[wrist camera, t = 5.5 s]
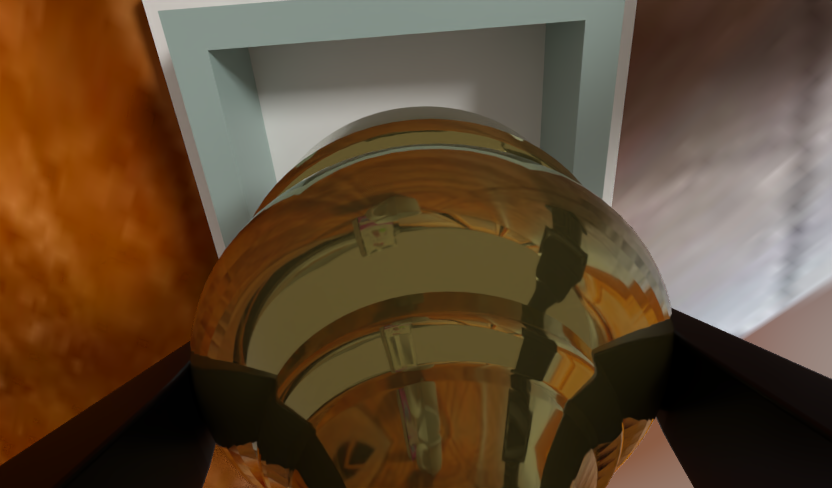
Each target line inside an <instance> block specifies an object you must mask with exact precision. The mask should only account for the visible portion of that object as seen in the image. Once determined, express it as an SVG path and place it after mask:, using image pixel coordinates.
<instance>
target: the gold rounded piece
mask: <svg viewBox="0 0 832 488" xmlns="http://www.w3.org/2000/svg"><path fill="white" fill-rule="evenodd" d="M674 345H675V343H674V323H673V316H672V309H671V303H670V300H669V296H668V293H667V289H666V286H665V284H664V281H663V279H662V276H661V274H660V272H659V269H658V267H657V265H656V263H655V261H654V260H653V258H652V256H651V254H650V252H649V251H648V249H647V247H646V246H645V244H644V243H643V242H642V240H641V239H640V238H639V236H638V235H637V233H636V232H635V231H634V230H633V229H632V228H631V226H630V225H629V224H628V223H627V222H626V221H625V220H624V219H623V218H622V217H621V216H620V215H619V214H618V213H617V212H616V211H615V210H614V209H613V208H611V207H610V206H609V205H608V204H607V203H606V202H605V201H603V200H602V199H601V198H600V197H598V196H597V195H596V194H594V193H593V192H591V191H590V190H588V189H587V188H586V187H584V186H583V185H582V184H581V183H580V182H579V181H578V180H577V179H576V177H575V176H574V175H573V174H572V173H571V172H570V171H569V170H568V169H566V168H565V167H564V166H563V165H562V164H561V163H560V162H558V161H557V160H556V159H555V158H553V157H552V156H550V155H549V154H548V153H546V152H545V151H543V150H542V149H540V148H538V147H537V146H535V145H533V144H532V143H531V142H529V141H528V140H527V139H526V138H524V137H523V136H521V135H520V134H518V133H517V132H516V131H514V130H512V129H510V128H509V127H507V126H505V125H503V124H501V123H499V122H497V121H494V120H492V119H490V118H487V117H484V116H482V115H479V114H476V113H472V112H468V111H464V110H460V109H453V108H446V107H433V106H419V107H405V108H398V109H392V110H387V111H383V112H379V113H375V114H372V115H369V116H366V117H363V118H361V119H358V120H356V121H354V122H351V123H349V124H347V125H345V126H343V127H342V128H340V129H338V130H336V131H334V132H333V133H331V134H330V135H328V136H327V137H325V138H324V139H322V140H321V141H320V142H319V143H317V144H316V145H315V146H314V147H312V148H311V149H310V150H309V151H308V152H307V153H306V154H305V155H304V156H303V157H302V158H301V159H300V160H299V161H298V162H297V164H296V165H295V166H294V167H293V168H292V169H291V170H290V171H289V172H288V173H287V174H286V175H285V176H284V177H283V178H282V179H281V180H280V181H279V182H278V183H277V184H276V185H275V186H274V187H273V188H272V190H271V191H270V192H269V193H268V195H267V196H266V197H265V198H264V200H263V201H262V203H261V204H260V206H259V207H258V209H257V210H256V212H255V214H254V216H253V218H252V219H251V220H250V221H249V222H248V223H247V224H246V225H245V226H244V227H243V228H242V229H241V230H240V231H239V233H238V234H237V235H236V236H235V237H234V239H233V240H232V241H231V242H230V244H229V245H228V246H227V247H226V249H225V250H224V252H223V253H222V255H221V256H220V258H219V259H218V261H217V262H216V264H215V266H214V267H213V269H212V271H211V273H210V275H209V277H208V279H207V281H206V283H205V285H204V288H203V291H202V293H201V296H200V299H199V301H198V305H197V309H196V313H195V317H194V321H193V325H192V333H191V341H190V365H191V374H192V383H193V388H194V392H195V396H196V400H197V403H198V406H199V409H200V412H201V414H202V417H203V419H204V422H205V424H206V426H207V428H208V430H209V432H210V434H211V436H212V438H213V439H214V441H215V442H216V444H217V446H218V447H219V449H220V450H221V452H222V453H223V454H224V456H225V457H226V458H227V459H228V461H229V462H230V463H231V465H232V466H233V467H234V468H235V469H236V470H237V471H238V472H239V473H240V475H241V476H242V477H243V478H244V479H245V480H246V481H248V482H249V483H250V484H251V485H252V486H253V487H254V488H606V487H607V485H608V484H609V482H610V480H611V478H612V476H613V475H614V473H615V472H616V471H617V470H618V469H619V468H620V467H621V466H622V465H623V464H624V462H625V461H626V460H627V459H628V458H629V457H630V456H631V454H632V453H633V452H634V451H635V449H636V448H637V447H638V446H639V444H640V443H641V441H642V440H643V438H644V437H645V435H646V434H647V432H648V430H649V429H650V427H651V425H652V423H653V421H654V419H655V418H656V416H657V414H658V412H659V409H660V407H661V404H662V402H663V400H664V397H665V394H666V390H667V387H668V384H669V380H670V375H671V370H672V364H673V356H674Z"/></svg>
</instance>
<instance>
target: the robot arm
mask: <svg viewBox="0 0 832 488" xmlns="http://www.w3.org/2000/svg"><path fill="white" fill-rule="evenodd" d="M671 309H672V316H673V323H674V343H675V345H674V356H673V364H672V370H671V375H670V380H669V384H668V387H667V390H666V394H665V397H664V400H663V402H662V404H661V407H660V409H659V412H658V414H657V416H656V418H657V420H658V423H659V425H660V427H661V429H662V431H663V433H664V435H665V437H666V439H667V440H668V442H669V444H670V446H671V448H672V450H673V451H674V453H675V455H676V457H677V458H678V460H679V462H680V464H681V465H682V467H683V469H684V471H685V473H686V474H687V476H688V478H689V480H690V481H691V483H692V485H693V487H694V488H832V379H831V378H828V377H826V376H823V375H822V374H819V373H817V372H815V371H812V370H810V369H808V368H806V367H803V366H801V365H799V364H797V363H794V362H792V361H790V360H788V359H785V358H783V357H781V356H779V355H776V354H774V353H772V352H770V351H767V350H765V349H763V348H761V347H758V346H756V345H754V344H752V343H749V342H747V341H745V340H743V339H740V338H738V337H736V336H734V335H731V334H729V333H727V332H725V331H722V330H720V329H718V328H716V327H713V326H711V325H709V324H707V323H704V322H702V321H700V320H698V319H695V318H693V317H691V316H689V315H686V314H684V313H682V312H679V311H677V310H675V309H673V308H671ZM215 444H216V442H215V441H214V439H213V438H212V436H211V434H210V432H209V430H208V428H207V426H206V424H205V422H204V419H203V417H202V414H201V412H200V409H199V406H198V403H197V400H196V396H195V392H194V388H193V383H192V374H191V365H190V341H189V342H188V343H186V344H185V345H183V346H182V347H180V348H179V349H177V350H176V351H174V352H172V353H171V354H169V355H168V356H166V357H165V358H163V359H162V360H160V361H159V362H157V363H156V364H154V365H153V366H151V367H150V368H148V369H147V370H145V371H144V372H142V373H141V374H139V375H138V376H136V377H134V378H133V379H131V380H130V381H128V382H127V383H125V384H124V385H122V386H121V387H119V388H118V389H116V390H115V391H113V392H112V393H110V394H109V395H107V396H106V397H104V398H103V399H101V400H99V401H98V402H96V403H95V404H93V405H92V406H90V407H89V408H87V409H86V410H84V411H83V412H81V413H80V414H78V415H77V416H75V417H74V418H72V419H71V420H69V421H68V422H66V423H65V424H63V425H61V426H60V427H58V428H57V429H55V430H54V431H52V432H51V433H49V434H48V435H46V436H45V437H43V438H42V439H40V440H39V441H37V442H36V443H34V444H33V445H31V446H30V447H28V448H27V449H25V450H23V451H22V452H20V453H19V454H17V455H16V456H14V457H13V458H11V459H10V460H8V461H7V462H5V463H4V464H2V465H1V466H0V488H202V487H203V484H204V482H205V479H206V476H207V473H208V470H209V467H210V463H211V460H212V456H213V452H214V448H215Z"/></svg>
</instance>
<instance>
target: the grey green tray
mask: <svg viewBox="0 0 832 488" xmlns="http://www.w3.org/2000/svg"><path fill="white" fill-rule="evenodd" d="M142 2H143V5H144V9H145V12H146V15H147V19H148V22H149V26H150V29H151V32H152V36H153V39H154V42H155V46H156V49H157V52H158V56H159V59H160V63H161V66H162V69H163V73H164V76H165V79H166V83H167V86H168V90H169V93H170V96H171V100H172V103H173V106H174V110H175V113H176V116H177V120H178V123H179V127H180V130H181V133H182V137H183V140H184V143H185V147H186V150H187V154H188V157H189V160H190V164H191V167H192V170H193V174H194V177H195V180H196V184H197V187H198V191H199V194H200V197H201V201H202V204H203V207H204V211H205V214H206V218H207V221H208V224H209V228H210V231H211V234H212V238H213V241H214V244H215V248H216V251H217V255H218V258H220V256H221V255H222V253H223V252H224V250H225V249H226V247H227V246H228V245H229V244H230V242H231V241H232V240H233V239H234V237H235V236H236V235H237V234H238V233H239V231H240V230H241V229H242V228H243V227H244V226H245V225H246V224H247V223H248V222H249V221H250V220H251V219H252V218H253V216H254V214H255V212H256V210H257V209H258V207H259V206H260V204H261V203H262V201H263V200H264V198H265V197H266V196H267V195H268V193H269V192H270V191H271V190H272V188H273V187H274V186H275V185H276V184H277V183H278V182H279V181H280V180H281V179H282V178H283V177H284V176H285V175H286V174H287V173H288V172H289V171H290V170H291V169H292V168H293V167H294V166H295V165H296V164H297V162H298V161H299V160H300V159H301V158H302V157H303V156H304V155H305V154H306V153H307V152H308V151H309V150H310V149H311V148H312V147H314V146H315V145H316V144H317V143H319V142H320V141H321V140H322V139H324V138H325V137H327V136H328V135H330V134H331V133H333V132H334V131H336V130H338V129H340V128H342V127H343V126H345V125H347V124H349V123H351V122H354V121H356V120H358V119H361V118H363V117H366V116H369V115H372V114H375V113H379V112H383V111H387V110H392V109H398V108H405V107H419V106H433V107H446V108H453V109H460V110H464V111H468V112H472V113H476V114H479V115H482V116H484V117H487V118H490V119H492V120H494V121H497V122H499V123H501V124H503V125H505V126H507V127H509V128H510V129H512V130H514V131H516V132H517V133H518V134H520V135H521V136H523V137H524V138H526V139H527V140H528V141H529V142H531V143H532V144H533V145H535V146H537V147H538V148H540V149H542V150H543V151H545V152H546V153H548V154H549V155H550V156H552V157H553V158H555V159H556V160H557V161H558V162H560V163H561V164H562V165H563V166H564V167H565V168H566V169H568V170H569V171H570V172H571V173H572V174H573V175H574V176H575V177H576V179H577V180H578V181H579V182H580V183H581V184H582V185H583V186H584V187H586V188H587V189H588V190H590V191H591V192H593V193H594V194H596V195H597V196H598V197H600V198H601V199H602V200H603V201H605V202H606V203H607V204H608V205H609V206H610V207H611V206H612V198H613V190H614V182H615V174H616V166H617V158H618V150H619V142H620V134H621V126H622V118H623V110H624V102H625V94H626V86H627V78H628V70H629V62H630V54H631V46H632V38H633V30H634V22H635V14H636V6H637V0H142Z"/></svg>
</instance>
